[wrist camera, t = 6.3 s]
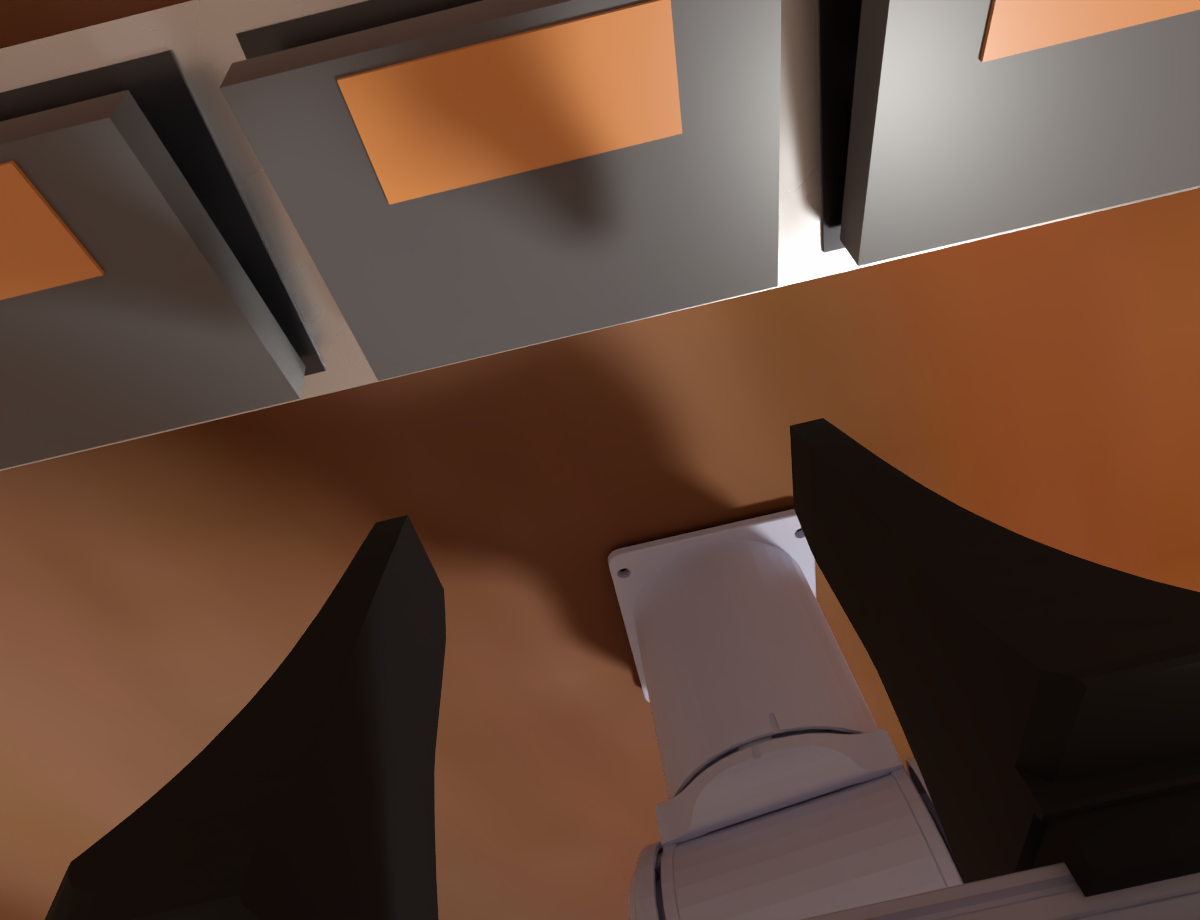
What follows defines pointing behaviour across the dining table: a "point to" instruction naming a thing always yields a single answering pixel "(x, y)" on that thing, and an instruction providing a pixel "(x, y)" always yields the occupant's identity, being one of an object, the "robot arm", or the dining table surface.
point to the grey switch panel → (355, 3)
